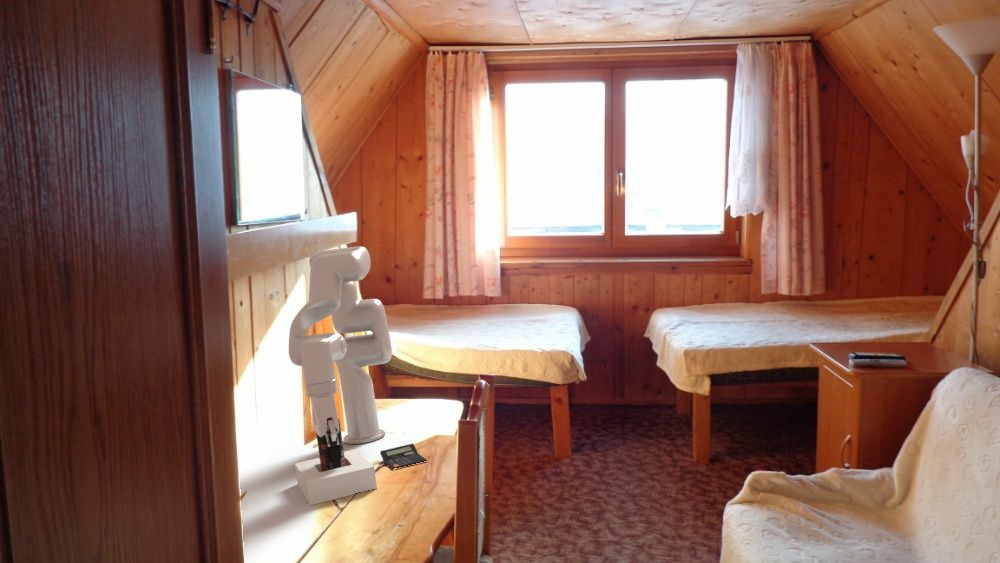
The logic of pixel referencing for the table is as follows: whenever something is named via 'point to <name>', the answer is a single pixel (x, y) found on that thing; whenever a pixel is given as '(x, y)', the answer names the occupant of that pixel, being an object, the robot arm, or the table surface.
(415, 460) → the calculator
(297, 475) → the socket board
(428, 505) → the table surface
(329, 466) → the deodorant
